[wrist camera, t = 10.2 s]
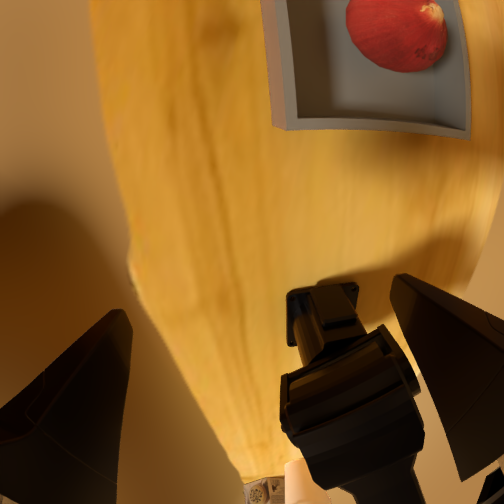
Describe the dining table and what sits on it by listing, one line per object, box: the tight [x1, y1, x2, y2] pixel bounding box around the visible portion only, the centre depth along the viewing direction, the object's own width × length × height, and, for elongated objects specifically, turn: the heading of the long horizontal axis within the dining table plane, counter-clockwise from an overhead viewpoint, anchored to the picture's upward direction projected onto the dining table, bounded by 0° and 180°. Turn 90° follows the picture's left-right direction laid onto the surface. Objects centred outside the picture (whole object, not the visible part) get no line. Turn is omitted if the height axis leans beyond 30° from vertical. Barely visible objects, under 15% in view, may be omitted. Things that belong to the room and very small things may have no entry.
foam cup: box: [285, 458, 332, 504], centre depth 41 cm, size 10×9×13 cm
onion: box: [346, 0, 448, 73], centre depth 10 cm, size 6×6×8 cm
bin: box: [260, 0, 471, 140], centre depth 12 cm, size 13×13×4 cm
